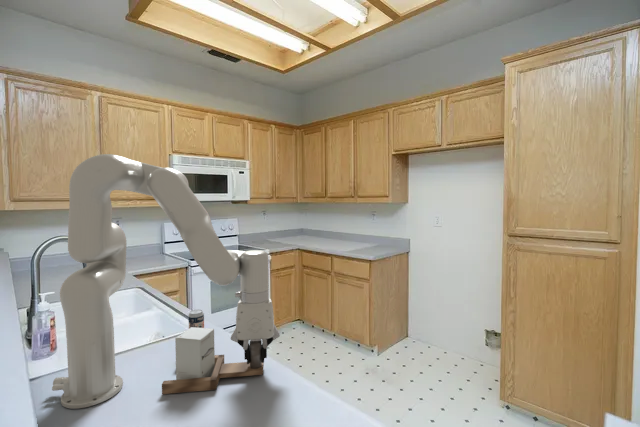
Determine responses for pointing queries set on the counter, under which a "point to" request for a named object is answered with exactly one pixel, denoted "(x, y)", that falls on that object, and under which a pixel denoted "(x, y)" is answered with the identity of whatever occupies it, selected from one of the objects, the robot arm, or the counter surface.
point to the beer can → (196, 319)
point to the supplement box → (195, 353)
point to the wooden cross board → (219, 373)
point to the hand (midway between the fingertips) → (255, 360)
